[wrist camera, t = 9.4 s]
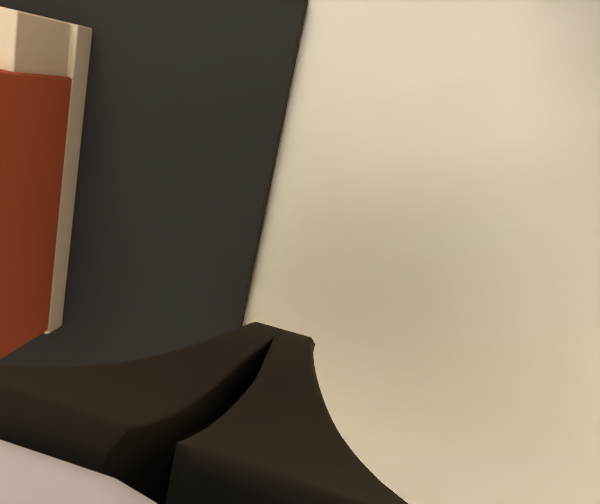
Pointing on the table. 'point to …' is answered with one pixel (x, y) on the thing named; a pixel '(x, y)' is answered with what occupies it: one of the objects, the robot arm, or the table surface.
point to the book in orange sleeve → (38, 167)
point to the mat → (168, 171)
